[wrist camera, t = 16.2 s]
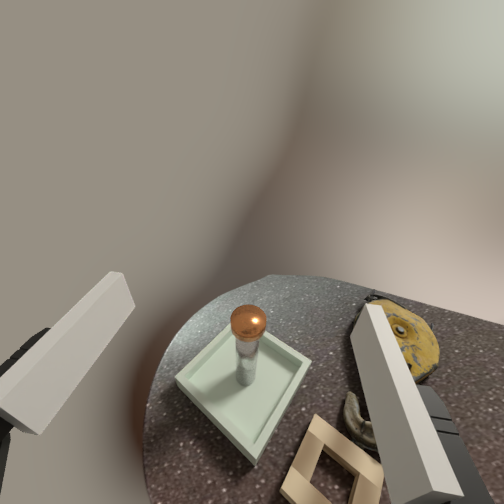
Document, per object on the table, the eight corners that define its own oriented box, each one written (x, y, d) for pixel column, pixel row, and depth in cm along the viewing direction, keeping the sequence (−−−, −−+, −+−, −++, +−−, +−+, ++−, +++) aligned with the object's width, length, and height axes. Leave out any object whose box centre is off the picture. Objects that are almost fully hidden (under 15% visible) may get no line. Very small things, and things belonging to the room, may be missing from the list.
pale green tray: (308, 370, 38) (311, 361, 36) (255, 466, 28) (256, 459, 26) (239, 323, 45) (239, 313, 43) (177, 386, 35) (174, 376, 33)
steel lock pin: (264, 373, 36) (273, 316, 28) (248, 396, 33) (251, 340, 25) (243, 357, 38) (245, 299, 30) (226, 377, 35) (223, 320, 27)
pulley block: (318, 394, 29) (377, 277, 49) (304, 408, 33) (364, 294, 53) (438, 496, 24) (449, 317, 43) (405, 498, 27) (429, 333, 47)
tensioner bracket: (379, 472, 28) (385, 467, 27) (358, 573, 22) (365, 573, 21) (312, 419, 32) (315, 413, 31) (279, 491, 26) (281, 487, 25)
